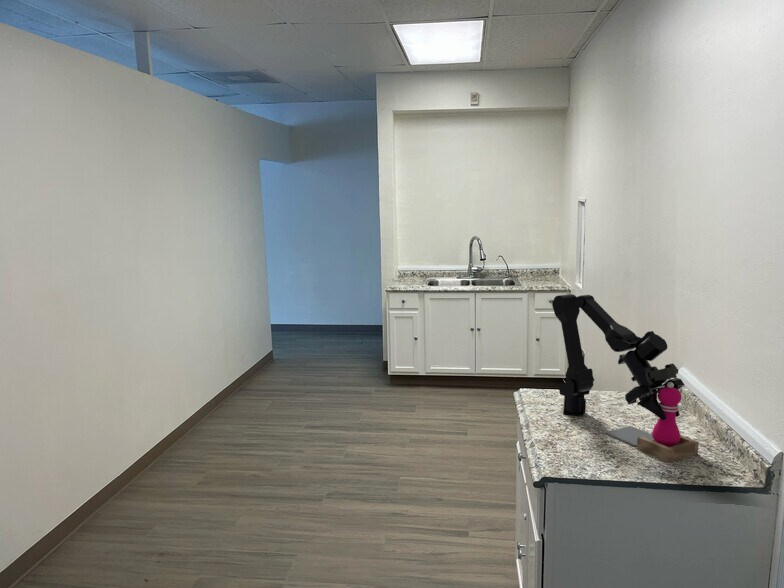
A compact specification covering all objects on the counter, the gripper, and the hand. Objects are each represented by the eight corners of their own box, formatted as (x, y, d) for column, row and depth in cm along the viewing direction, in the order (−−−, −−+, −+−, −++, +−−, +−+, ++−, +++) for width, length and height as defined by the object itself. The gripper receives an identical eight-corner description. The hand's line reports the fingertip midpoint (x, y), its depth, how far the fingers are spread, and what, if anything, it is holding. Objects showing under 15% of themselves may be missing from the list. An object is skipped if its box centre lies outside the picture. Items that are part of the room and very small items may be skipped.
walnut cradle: (636, 448, 171) (637, 437, 171) (664, 440, 177) (665, 429, 176) (669, 462, 162) (670, 450, 162) (697, 454, 168) (698, 442, 167)
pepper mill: (677, 447, 172) (683, 379, 169) (680, 457, 166) (686, 387, 163) (649, 443, 175) (655, 376, 172) (651, 453, 168) (657, 384, 165)
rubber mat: (604, 434, 182) (605, 432, 182) (630, 427, 187) (630, 425, 187) (635, 447, 172) (635, 445, 172) (660, 439, 178) (661, 438, 177)
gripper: (636, 358, 165) (668, 410, 157) (681, 350, 174) (713, 398, 166) (611, 379, 173) (641, 428, 165) (655, 370, 182) (685, 417, 174)
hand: (671, 417), depth 167 cm, fingers closed on pepper mill, 5 cm apart
